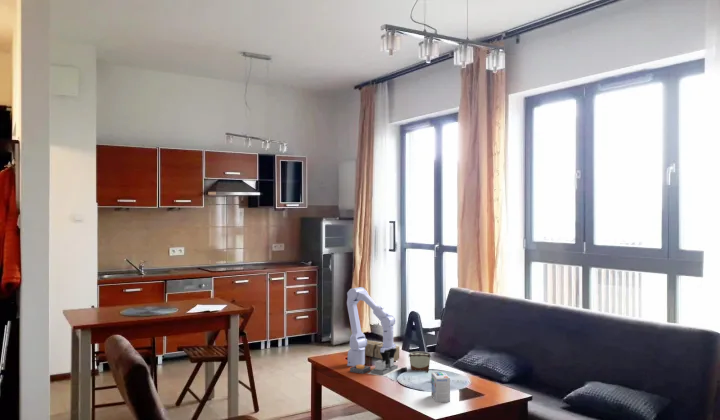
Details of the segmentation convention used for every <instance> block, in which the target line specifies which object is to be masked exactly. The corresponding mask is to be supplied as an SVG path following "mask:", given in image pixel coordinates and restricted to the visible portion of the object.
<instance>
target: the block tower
mask: <svg viewBox="0 0 720 420" xmlns="http://www.w3.org/2000/svg"><path fill="white" fill-rule="evenodd" d="M366 340H367V346H366V347H365V357H366V356H368V357H372V358H376V359H380V360H383V358H382V356H381V354H380V349H381V348H382V347H383V342H379V341H374V340H373V341H372V340H369V339H366ZM394 349H396V352H395V355H394V362H396V361H399V359H400V346H399V345H396V348H394Z"/></svg>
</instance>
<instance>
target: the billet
mask: <svg viewBox="0 0 720 420" xmlns="http://www.w3.org/2000/svg"><path fill="white" fill-rule="evenodd" d="M394 365H395V361H394V358H393V357H389V360H388V364H387V365H386V364H385V367H387V368H392V367H394Z"/></svg>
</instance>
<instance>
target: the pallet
mask: <svg viewBox="0 0 720 420" xmlns="http://www.w3.org/2000/svg"><path fill="white" fill-rule="evenodd" d="M401 369H402V368H401V367H399V366H398V364H397V365H396V364H394V367H392V368H387V367H385V371H383V372H381V371H375V368H373V369H370V371H368V372H366V374H368V375H375V376H381V377H386V376H389V375H391V374H394V372H397V371H399V370H401Z"/></svg>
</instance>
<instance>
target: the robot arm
mask: <svg viewBox="0 0 720 420" xmlns="http://www.w3.org/2000/svg"><path fill="white" fill-rule="evenodd" d="M368 292H369V291H367V290H366V288H365V287H363V286H360V287H353V288H350V289H349V290H348V291H347V292H346V295H347V300H346V306H347V312H348V317H349V323H350V330H351V335H350V337H349V350H348V351H347V364H346V366H347V367H354V366H356V365H359V364H362V365H364V366H365V364H366V355H365V347H366V346H367V340H368V339H367V338H366V335H365V333H363V331H362V328H361V327H362V326H361V322H360V317H359V310H358V309H359V308H358V304H359V302H360V301H363V303H365V304H366V305H368V307H369V308H370V309H372V312H373V315H374V316H375V317H376V318H377V319H378V320H379V321H380V325H381V326H382V343H383V347H382V348H381V349H380V354H381V356H382V358H383V359H382V361H385V364H386V365H387V364H388V360H389V357H393V358H394V355H395V352H396V349H394V348H396V346H397V345H396V343H394V326H395V324H396V318H395V317H394V315H390V314H389V313H388V311H386V310H385V309H384V308H385V307H383V306H382V305H378V304H377V303H376V302H375V301H374V299H373V298H372V297H371V296H370V294H369V293H368Z"/></svg>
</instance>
